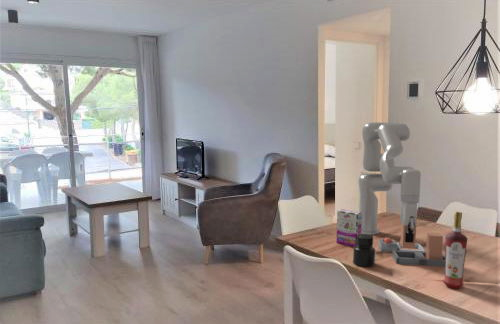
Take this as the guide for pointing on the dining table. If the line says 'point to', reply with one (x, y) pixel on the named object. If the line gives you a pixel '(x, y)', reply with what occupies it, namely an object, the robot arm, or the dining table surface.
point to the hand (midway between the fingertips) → (407, 239)
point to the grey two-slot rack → (416, 258)
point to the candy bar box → (348, 227)
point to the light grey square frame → (411, 250)
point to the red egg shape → (387, 240)
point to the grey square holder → (387, 246)
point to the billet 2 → (434, 246)
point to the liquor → (455, 254)
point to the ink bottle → (364, 251)
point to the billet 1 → (403, 234)
